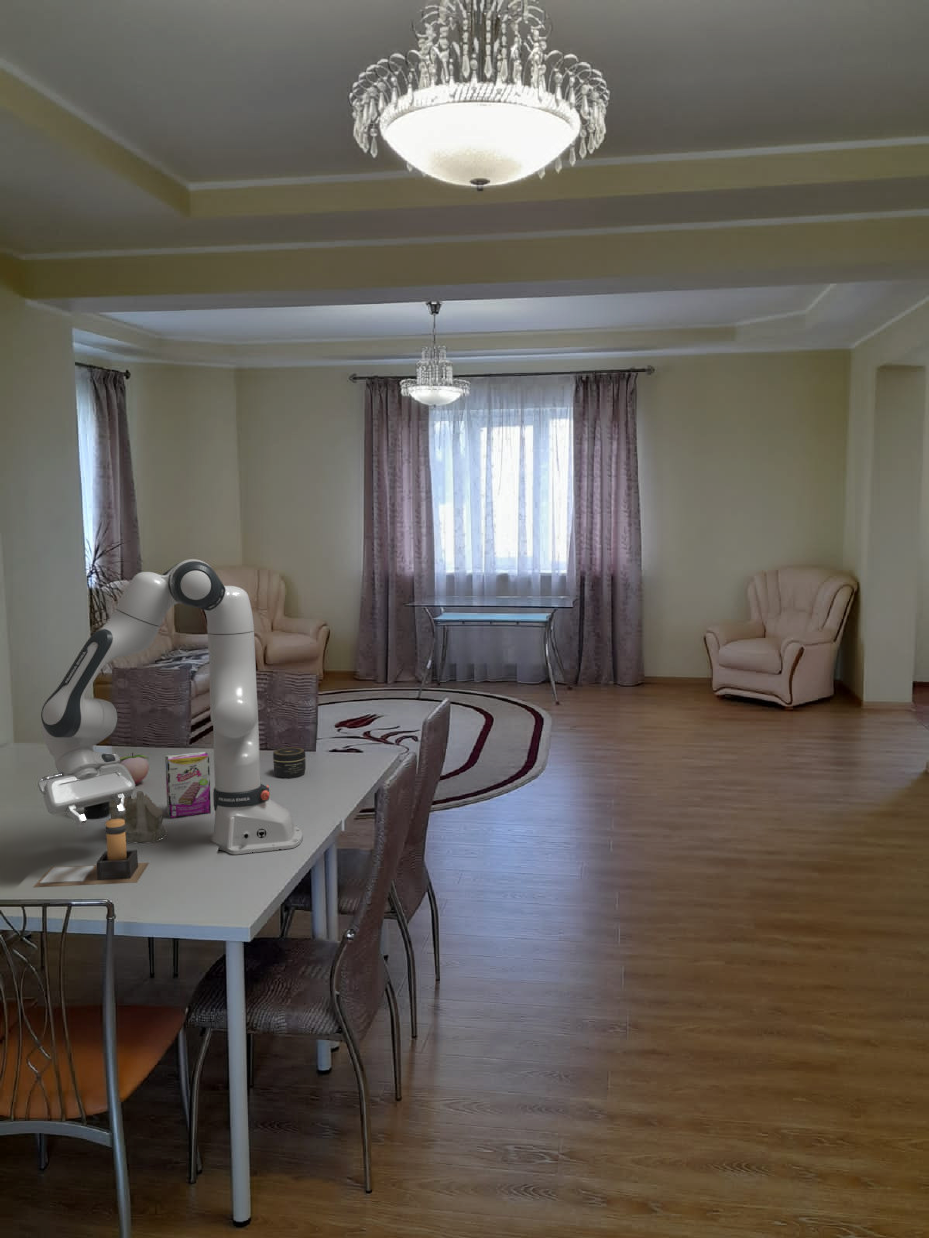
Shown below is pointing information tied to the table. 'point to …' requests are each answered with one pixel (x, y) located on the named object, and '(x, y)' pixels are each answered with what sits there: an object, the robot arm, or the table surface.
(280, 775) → the jar
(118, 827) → the orange cylindrical peg
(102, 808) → the supplement bottle
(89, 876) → the board with square socket
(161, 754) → the table surface
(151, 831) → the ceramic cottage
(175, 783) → the candy bar box
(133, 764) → the decorative fruit
